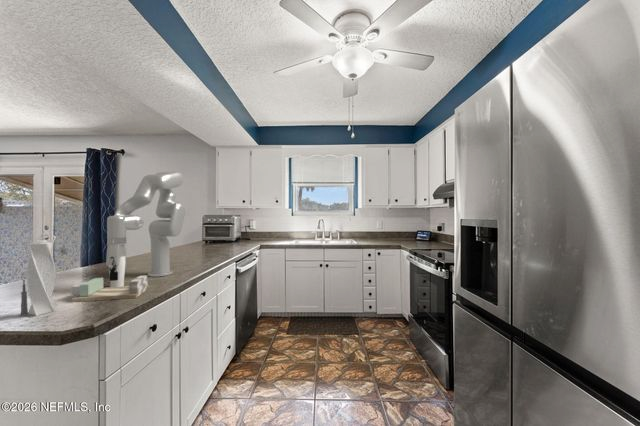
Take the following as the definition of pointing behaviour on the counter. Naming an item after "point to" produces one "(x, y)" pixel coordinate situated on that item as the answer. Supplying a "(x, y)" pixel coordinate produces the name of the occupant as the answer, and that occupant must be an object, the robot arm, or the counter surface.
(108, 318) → the counter surface
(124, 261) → the drinking glass
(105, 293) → the vise
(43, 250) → the skyscraper
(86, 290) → the sliding jaw
